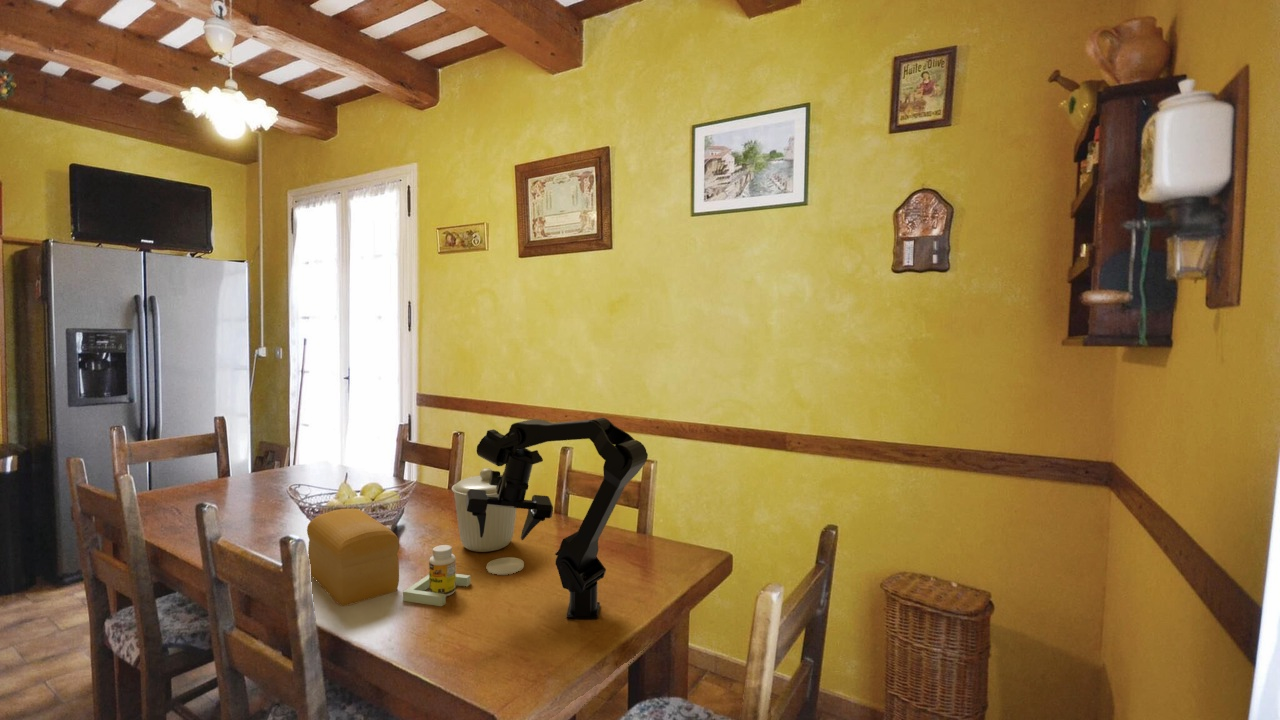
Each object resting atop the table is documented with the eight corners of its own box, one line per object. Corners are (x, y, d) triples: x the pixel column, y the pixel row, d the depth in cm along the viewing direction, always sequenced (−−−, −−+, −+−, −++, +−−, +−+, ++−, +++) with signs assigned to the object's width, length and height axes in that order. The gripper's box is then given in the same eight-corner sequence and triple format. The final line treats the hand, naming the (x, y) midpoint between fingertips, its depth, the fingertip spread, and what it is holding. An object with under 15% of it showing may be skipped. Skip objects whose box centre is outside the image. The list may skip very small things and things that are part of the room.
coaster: (520, 575, 143) (520, 571, 143) (482, 575, 143) (482, 571, 143) (526, 560, 152) (526, 557, 152) (491, 560, 152) (491, 557, 152)
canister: (533, 547, 161) (532, 470, 160) (468, 563, 150) (467, 480, 149) (503, 529, 175) (502, 458, 174) (442, 543, 164) (441, 466, 163)
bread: (401, 590, 135) (400, 524, 134) (339, 608, 126) (338, 538, 125) (363, 559, 153) (362, 501, 152) (307, 573, 144) (305, 511, 143)
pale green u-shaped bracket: (470, 584, 138) (470, 575, 138) (441, 606, 127) (441, 597, 127) (434, 579, 141) (434, 570, 141) (402, 600, 130) (402, 591, 130)
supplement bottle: (424, 594, 133) (423, 549, 132) (443, 585, 137) (443, 541, 137) (441, 600, 130) (441, 554, 129) (461, 591, 135) (460, 546, 134)
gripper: (550, 463, 143) (536, 522, 146) (471, 454, 136) (457, 516, 139) (560, 484, 133) (544, 547, 136) (474, 476, 126) (459, 542, 129)
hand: (501, 537), depth 135 cm, fingers open, 9 cm apart
